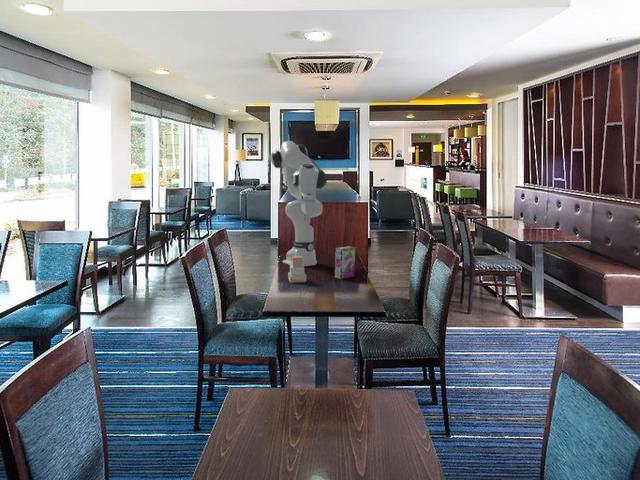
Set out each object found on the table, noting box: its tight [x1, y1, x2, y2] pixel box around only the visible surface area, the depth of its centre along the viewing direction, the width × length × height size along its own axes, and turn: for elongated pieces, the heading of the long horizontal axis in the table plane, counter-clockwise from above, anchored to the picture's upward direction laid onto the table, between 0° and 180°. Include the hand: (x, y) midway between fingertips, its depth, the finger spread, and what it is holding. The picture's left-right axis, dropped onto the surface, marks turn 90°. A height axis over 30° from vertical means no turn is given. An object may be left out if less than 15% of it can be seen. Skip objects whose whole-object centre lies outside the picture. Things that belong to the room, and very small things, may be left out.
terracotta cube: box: [292, 256, 303, 267], centre depth 294 cm, size 5×5×5 cm
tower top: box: [289, 265, 305, 275], centre depth 295 cm, size 7×7×4 cm
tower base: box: [287, 271, 307, 283], centre depth 295 cm, size 8×8×4 cm
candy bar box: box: [334, 246, 356, 280], centre depth 302 cm, size 11×5×16 cm, turn 135°
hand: (306, 222), depth 296 cm, fingers open, 8 cm apart
